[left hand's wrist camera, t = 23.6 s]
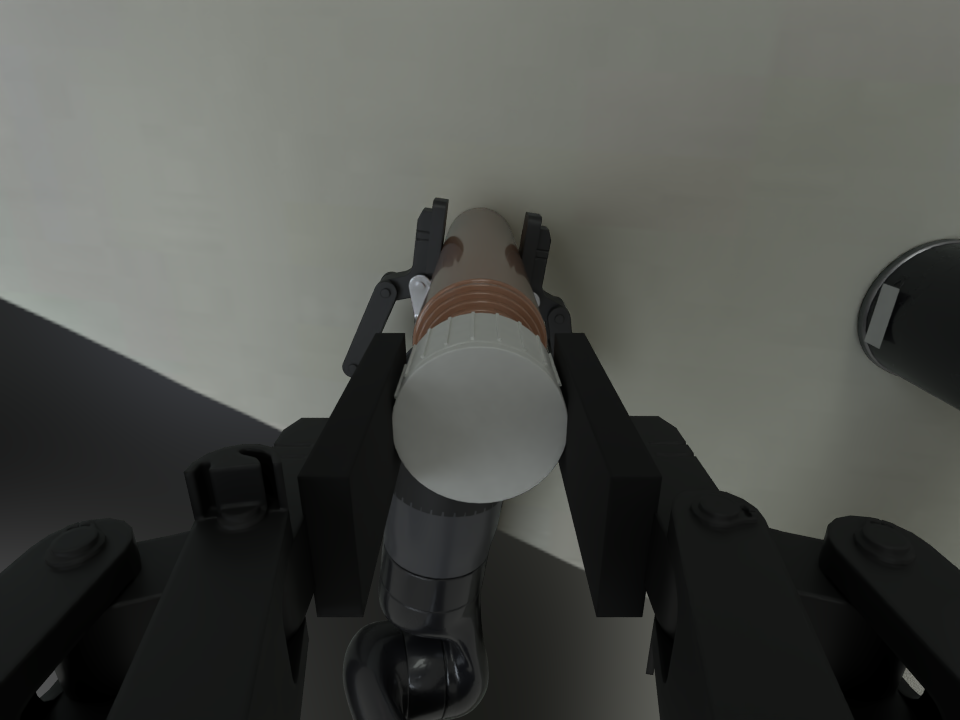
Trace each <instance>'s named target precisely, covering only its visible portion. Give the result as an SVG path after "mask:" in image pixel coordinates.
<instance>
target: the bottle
mask: <svg viewBox="0 0 960 720" xmlns="http://www.w3.org/2000/svg"><path fill="white" fill-rule="evenodd" d="M472 312H475V313H491V314H496V313H499V315H501V316H504V317H507V318H510V319H512V320H514V321H516V322H518V321H520V322H521V323H522V325H523V326H525V327H526V328H528V329H529V330H530V331H531V332H532V333H533V334H535V335H538V336H539V337H540V341H541V342H542V344H543V345H544V347H545V348H546V350H547V333H546V328H545V324H544V321H543V318H542V315H541V312H540V310H539V307H538V304H537V301H536V298H535V296H534V293H533V290H532V287H531V284H530V282H529V279H528V276H527V273H526V271H525V268H524V265H523V262H522V259H521V257H520V254H519V251H518V248H517V245H516V243H515V240H514V237H513V234H512V231H511V229H510V226H509V225H508V223H507V221H506V220H505V219H504V218H503V217H502V216H501V215H500V214H498V213H497V212H495V211H493V210H490V209H487V208H473V209H469V210H467V211H465V212H463V213H461V214H460V215H459V216H458V217H457V218H456V219H455V220H454V221H453V223H452V224H451V226H450V228H449V231H448V233H447V236H446V239H445V242H444V245H443V247H442V250H441V253H440V256H439V259H438V261H437V264H436V267H435V270H434V273H433V275H432V278H431V281H430V284H429V287H428V289H427V292H426V295H425V298H424V301H423V303H422V306H421V309H420V312H419V315H418V317H417V320H416V323H415V327H414V332H413V346H414V344H415V345H417V344H418V342H419V341H420V340H421V339H422V337H423V336H424V335H425V334H426V333H427V331H428V329H429V328H431V329H432V328H434V327H435V326H437V325H438V324H440V323H441V322H444V321H446V320H448V317H452V318H453V317H456V316H459V315H464V314H469V313H472Z"/></svg>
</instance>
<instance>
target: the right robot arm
mask: <svg viewBox="0 0 960 720" xmlns="http://www.w3.org/2000/svg"><path fill="white" fill-rule="evenodd" d="M448 202H449V199H442V198H435V199H434V201H433V207H432V208H426V207H425V208H424V209H423V211H422V213H421V215H420V216H419V218H418V222H417V232H416V241H415V250H414V260H413V267H412V268H411V269H409V270H407V271H403V272H398V273H396V272H388V273H386V274H385V275H384V276H383V277H382V279H381V281H380V282H379V283H378V284H377V285H376V287H375V289H374V291H373V294H372V296H371V299H370V301H369V303H368V306H367V308H366V310H365V313H364V315H363V317H362V320H361V322H360V325H359V327H358V329H357V332H356V334H355V336H354V339H353V341H352V344H351V346H350V348H349V351H348V353H347V355H346V358H345V360H344V362H343V366H342V368H343V371H344V373H345V374H346V375H347V376H349V377H352V375H353V374H354V372H355V370H356V368H357V366H358V364H359V363H360V361H361V359H362V357H363V355H364V353H365V352H366V350H367V348H368V346H369V344H370V342H371V341H372V339H373V337H374V335H375V333H382V331H383V329H384V326H385V324H386V322H387V320H388V317H389V315H390V313H391V310H392V308H393V306H394V304H395V301H396V300H401V299H406V298H411V301H412V306H413V311H414V317H415V323H416V320H417V317H418V315H419V312H420V309H421V306H422V303H423V301H424V298H425V295H426V292H427V289H428V287H429V284H430V281H431V278H432V275H433V273H434V270H435V267H436V264H437V261H438V259H439V256H440V253H441V250H442V247H443V243H444V235H445V227H446V219H447V211H448ZM541 223H542V217H541V215H540V214H536V213H530V212H526V215H525V219H524V225H523V230H522V236H521V242H520V247H519V254H520V257H521V259H522V262H523V265H524V268H525V271H526V273H527V276H528V279H529V282H530V284H531V287H532V290H533V293H534V296H535V298H536V301H537V304H538V307H539V310H540V312H541V315H542V318H543V321H545V327H546V333H547V344H548V353H551V355H552V358H553V357H554V338H555V333H572V329H571V318H570V314H569V312H568V310H567V308H566V306H565V304H564V302H563V301H562V299H560V298H559V297H556V296H552V295H550V294H549V293H547V292H545V291H544V290H543V289H542V284H543V278H544V273H545V268H546V263H547V258H548V253H549V248H550V243H551V238H550V233H549V230H548V228H547V227H546V226H541ZM858 334H859V340H860V343H861V346H862V348H863V350H864V352H865V353H866V355H867V356H868V358H869V359H870V360H871V361H872V362H873V363H875V364H876V365H877V366H879V367H880V368H882V369H884V370H886V371H887V372H889V373H891V374H894V375H896V376H899V377H901V378H903V379H905V380H907V381H908V382H910V383H912V384H914V385H916V386H917V387H919V388H921V389H922V390H924V391H926V392H928V393H929V394H931V395H933V396H935V397H937V398H938V399H940V400H942V401H944V402H946V403H947V404H949V405H951V406H953V407H955V408H956V409H958V410H960V239H945V240H938V241H933V242H930V243H926V244H924V245H921V246H918V247H916V248H914V249H912V250H910V251H908V252H907V253H905V254H903V255H902V256H900V257H899V258H897V259H896V260H895V261H894V262H892V263H891V264H890V265H889V266H888V267H887V268H886V269H885V270H884V271H883V272H882V273H881V274H880V275H879V276H878V277H877V279H876V280H875V281H874V283H873V284H872V285H871V287H870V289H869V290H868V292H867V294H866V296H865V298H864V300H863V303H862V306H861V309H860V313H859V319H858ZM412 348H413V347H412ZM412 348H411V349H410V350H409V351H408V352H407V353H406V363H408V360H409V357H410V354H411V351H412ZM502 502H503V501H498V502H491V503H468V502H462V501H457V500H453V499H450V498H447V497H444V496H442V495H440V494H437V493H435V492H434V491H432V490H430V489H428V488H427V487H425V486H424V485H423V484H421V483H420V482H419V481H418V480H417V479H416V478H415V477H413V476H412V475H411V473H410V472H409V471H408V470H407V468H406V467H405V466H404V464H403V462H402V461H401V465H400V469H399V473H398V477H397V481H396V485H395V489H394V493H393V497H392V501H391V505H390V509H389V514H388V518H387V522H386V526H385V530H384V540H383V549H382V559H381V569H380V577H379V601H380V605H381V608H382V610H383V613H384V614H385V616H386V617H387V619H388V620H386V621H380V622H374V623H371V624H368V625H366V626H364V627H363V628H361V629H360V630H359V631H358V632H357V633H356V635H355V636H354V637H353V639H352V640H351V642H350V644H349V646H348V649H347V651H346V654H345V659H344V665H343V682H344V689H345V694H346V698H347V701H348V705H349V708H350V711H351V714H352V717H353V719H354V720H448V719H453V718H458V717H461V716H463V715H466V714H467V713H469V712H470V711H472V710H473V709H474V708H475V707H476V706H477V705H478V703H479V702H480V701H481V699H482V698H483V696H484V694H485V692H486V689H487V686H488V678H489V671H488V659H487V654H486V648H485V643H484V639H483V633H482V624H481V602H480V601H481V600H480V599H481V588H482V583H483V578H484V573H485V568H486V563H487V558H488V552H489V549H490V545H491V542H492V540H493V537H494V535H495V532H496V529H497V526H498V522H499V517H500V512H501V507H502Z"/></svg>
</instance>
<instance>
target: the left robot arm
mask: <svg viewBox="0 0 960 720" xmlns="http://www.w3.org/2000/svg"><path fill="white" fill-rule="evenodd" d="M553 361H554V364H555V367H556V370H557V373H558V376H559V378H560V381H561V384H562V386H560V389H561V392H562V395H563V398H564V401H565V404H566V408H567V413H568V417H567V434H566V444H565V448H564V451H563V453H562V455H561V457H560V459H559V461H558V462H559V466H560V470H561V474H562V478H563V482H564V486H565V491H566V495H567V499H568V503H569V507H570V511H571V515H572V519H573V523H574V527H575V531H576V535H577V539H578V544H579V548H580V552H581V556H582V560H583V564H584V568H585V572H586V576H587V580H588V584H589V588H590V592H591V597H592V601H593V605H594V609H595V613H596V617H642V616H643V609H644V602H645V595H646V592H647V594H648V597H649V600H650V602H651V605H652V608H653V610H654V613H655V617H654V624H653V630H652V637H651V643H650V650H649V656H648V663H647V670H646V674H650V675H653V673H654V668H655V677H656V686H657V695H658V705H659V713H660V720H960V570H959V569H958V568H957V567H956V566H954V565H953V564H952V563H951V562H950V561H948V560H947V559H946V558H945V557H944V556H943V555H941V554H940V553H939V552H938V551H937V550H935V549H934V548H933V547H932V546H931V545H929V544H928V543H927V542H925V541H924V540H922V539H921V538H919V537H918V536H916V535H915V534H913V533H912V532H909V531H907V530H905V529H903V528H901V527H898V526H896V525H895V524H893V523H890V522H887V521H884V520H882V521H881V520H879V519H876V518H871V517H861V516H845V517H840V518H836V519H835V520H833V521H832V522H831V523H830V524H829V525H828V527H827V531H826V534H825V538H824V540H821V539H816V538H811V537H807V536H802V535H797V534H792V533H787V532H782V531H779V530H775V529H771V528H769V527H768V525H767V522H766V520H765V519H764V517H763V516H762V515H761V513H760V512H759V511H758V509H757V508H755V507H754V506H752V505H751V504H750V503H748V502H747V501H745V500H744V499H742V498H739V497H737V496H735V495H732V494H730V493H727V492H723V491H719V489H718V488H717V486H716V485H715V484H714V482H713V481H712V479H711V478H710V476H709V475H708V473H707V472H706V470H705V469H704V468H703V466H702V465H701V463H700V462H699V460H698V459H697V457H696V456H694V453H693V452H692V450H691V449H690V447H689V446H688V445H686V441H685V440H684V438H683V437H682V436H681V434H680V433H679V431H678V430H677V428H676V427H674V426H672V425H671V424H669V423H668V422H666V421H665V420H663V419H662V418H660V417H659V416H629V415H628V413H627V411H626V409H625V407H624V405H623V404H622V402H621V400H620V398H619V396H618V394H617V393H616V391H615V389H614V387H613V385H612V383H611V382H610V380H609V378H608V376H607V374H606V372H605V371H604V369H603V367H602V365H601V363H600V361H599V360H598V358H597V356H596V354H595V352H594V350H593V349H592V347H591V345H590V343H589V341H588V339H587V338H586V336H585V334H584V333H555V338H554V357H553ZM405 364H407V363H406V344H405V333H375V335H374V337H373V339H372V341H371V342H370V344H369V346H368V348H367V350H366V352H365V353H364V355H363V357H362V359H361V361H360V363H359V364H358V366H357V368H356V370H355V372H354V374H353V375H352V377H351V379H350V381H349V383H348V385H347V386H346V388H345V390H344V392H343V394H342V396H341V397H340V399H339V401H338V403H337V405H336V407H335V408H334V410H333V412H332V414H331V416H330V418H301V419H299V420H298V421H296V422H295V423H293V424H292V425H290V426H289V427H287V428H286V429H284V430H283V431H282V433H281V434H280V436H279V437H278V439H277V440H276V442H275V443H274V447H269V446H265V445H261V444H241V445H235V446H229V447H224V448H221V449H219V450H216V451H213V452H210V453H208V454H206V455H204V456H202V457H201V458H199V459H197V460H196V461H194V462H193V463H192V464H191V465H190V466H189V467H188V468H187V469H186V470H185V471H184V475H185V480H186V484H187V488H188V493H189V496H190V501H191V506H192V510H193V514H194V518H195V521H194V523H193V526H192V528H191V530H190V531H186V532H183V533H179V534H175V535H170V536H166V537H160V538H155V539H150V540H146V541H141V542H136V539H135V536H134V532H133V529H132V527H131V526H130V525H129V524H127V523H126V522H125V521H123V520H117V519H112V518H105V519H94V520H87V521H82V522H81V523H75V524H72V525H69V526H67V527H65V528H63V529H61V530H59V531H57V532H55V533H52V534H50V535H48V536H47V537H45V538H44V539H42V540H41V541H39V542H38V543H36V544H35V545H33V546H32V547H31V548H29V549H28V550H27V551H26V552H25V553H24V554H22V555H21V556H20V557H19V558H18V559H16V560H15V561H14V562H13V563H12V564H11V565H9V566H8V567H7V568H6V569H5V570H4V571H2V572H1V573H0V720H300V715H301V706H302V696H303V688H304V678H305V669H306V660H307V651H308V642H309V637H308V631H307V624H306V617H305V615H306V612H307V610H308V607H309V604H310V601H311V599H312V596H313V593H314V597H315V604H316V611H317V617H363V615H364V611H365V607H366V603H367V599H368V595H369V591H370V587H371V583H372V579H373V575H374V570H375V567H376V562H377V558H378V554H379V550H380V546H381V542H382V538H383V534H384V530H385V526H386V522H387V518H388V514H389V509H390V505H391V501H392V497H393V493H394V489H395V485H396V481H397V477H398V473H399V469H400V465H401V459H400V458H399V455H398V453H397V451H396V449H395V445H394V439H393V424H392V412H393V407H394V404H395V401H396V399H395V398H394V395H395V392H396V389H397V386H398V383H399V380H400V377H401V374H402V371H403V368H404V365H405ZM905 668H907V669H908V670H909V671H910V672H911V673H912V675H913V676H914V677H915V678H916V679H917V680H918V682H919V683H920V684H921V685H922V686H923V687H924V688H925V690H924V692H923V694H922V695H921V696H920V695H919V694H918V693H916V692H915V691H914V690H913V689H912V688H911V687H910V686H909V684H908V683H907V682H906V681H905V680H904V678H903V677H902V676H903V673H904V671H905ZM54 670H55V672H56V674H57V677H58V680H57V681H56V682H55V684H54V685H53V686H52V687H51V688H50V690H48V691H47V692H46V693H45V694H44V695H43V696H42V697H40V698H39V697H38V696H37V694H36V691H37V690H38V689H39V687H40V686H41V685H42V684H43V683H44V682H45V680H46V679H47V678H48V677H49V676H50V675H51V673H52V672H53V671H54Z"/></svg>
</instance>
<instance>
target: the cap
mask: <svg viewBox="0 0 960 720" xmlns="http://www.w3.org/2000/svg"><path fill="white" fill-rule="evenodd" d="M560 386H562V384H561V381H560V378H559V376H558V373H557V370H556V367H555V364H554V361H553V358H552V355H551V353H549V354H548V352H547V350H546V348H545V347H544V345H543V344H542V342H541V341H540V337H539V336H538V335H535V334H533V333H532V332H531V331H530V330H529V329H528V328H526V327H525V326H523V325H522V323H521V322H520V321H518V322H516V321H514V320H512V319H510V318H507V317H504V316H501V315H499V313H496V314H491V313H475V312H472V313H469V314H464V315H459V316H456V317H453V318H452V317H448V320H446V321H444V322H441V323H440V324H438V325H437V326H435V327H434V328H432V329H431V328H429V329H428V331H427V333H426V334H425V335H424V336H423V337H422V339H421V340H420V341H419V342H418V344H417V345H415V344H414V346H413V348H412V351H411V354H410V357H409V360H408V363H407V364H405V365H404V368H403V371H402V374H401V377H400V380H399V383H398V386H397V389H396V392H395V395H394V398H395V399H396V401H395V404H394V407H393V412H392V424H393V439H394V445H395V449H396V451H397V453H398V455H399V458H400V459H401V461H402V462H403V464H404V466H405V467H406V468H407V470H408V471H409V472H410V473H411V475H412V476H413V477H415V478H416V479H417V480H418V481H419V482H420V483H421V484H423V485H424V486H425V487H427V488H428V489H430V490H432V491H434V492H435V493H437V494H440V495H442V496H444V497H447V498H450V499H453V500H457V501H462V502H468V503H491V502H498V501H503V500H506V499H510V498H513V497H515V496H518V495H520V494H522V493H524V492H526V491H528V490H530V489H531V488H533V487H534V486H536V485H537V484H539V483H540V482H541V481H542V480H543V479H544V478H545V477H546V476H547V475H548V474H549V473H550V472H551V471H552V469H553V468H554V467H555V465H556V464H557V462H558V461H559V459H560V457H561V455H562V453H563V451H564V448H565V444H566V434H567V417H568V413H567V408H566V404H565V401H564V398H563V395H562V392H561V389H560Z"/></svg>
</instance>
